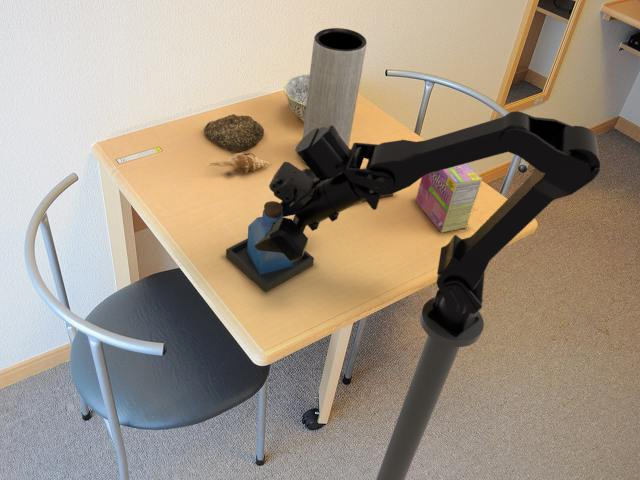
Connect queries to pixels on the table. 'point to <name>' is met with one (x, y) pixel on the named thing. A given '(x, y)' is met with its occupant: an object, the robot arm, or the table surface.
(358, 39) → the planter
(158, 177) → the table surface
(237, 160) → the spiral seashell
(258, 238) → the perfume bottle
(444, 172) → the box
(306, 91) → the bowl
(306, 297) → the table surface
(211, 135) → the bread roll
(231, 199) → the table surface
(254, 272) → the tray
